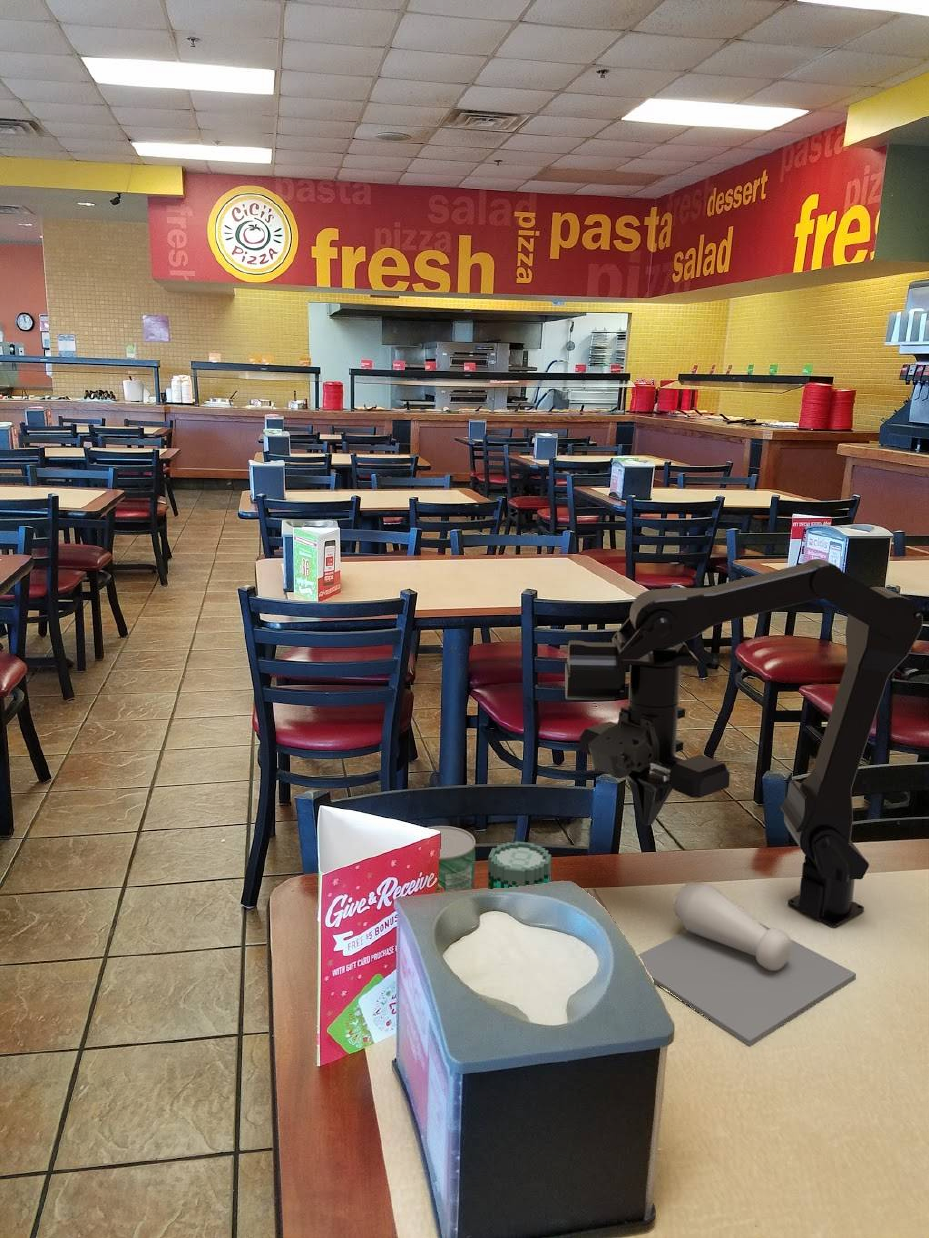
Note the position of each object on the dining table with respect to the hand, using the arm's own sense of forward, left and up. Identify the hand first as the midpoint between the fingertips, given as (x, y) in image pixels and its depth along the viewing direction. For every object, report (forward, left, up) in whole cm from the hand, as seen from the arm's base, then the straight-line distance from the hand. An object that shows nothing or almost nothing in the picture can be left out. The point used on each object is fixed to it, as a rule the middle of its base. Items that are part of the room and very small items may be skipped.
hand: (647, 824), depth 109 cm
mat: (+2, +16, -10) cm, 19 cm away
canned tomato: (+23, -10, -11) cm, 27 cm away
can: (+23, +4, -11) cm, 26 cm away
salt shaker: (0, +6, -7) cm, 9 cm away
